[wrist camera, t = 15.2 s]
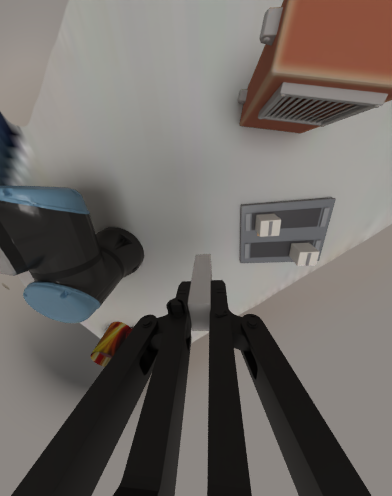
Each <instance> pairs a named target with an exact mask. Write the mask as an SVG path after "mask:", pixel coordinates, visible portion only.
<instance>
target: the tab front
mask: <svg viewBox="0 0 392 496" xmlns="http://www.w3.org/2000/svg"><path fill="white" fill-rule="evenodd" d="M280 225H281V219H280V218H279V217H277V216H276V215H275V214H260V215H256V225H255V229H256V231H257V233H258V234H259V236H260V237H264V236H279V233H280Z"/></svg>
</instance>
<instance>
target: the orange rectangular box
mask: <svg viewBox="0 0 392 496" xmlns="http://www.w3.org/2000/svg"><path fill="white" fill-rule="evenodd" d="M260 42H261V43H263V44H266V45H265V47H264V49H263V52H262V54H261V57H260V59H259V61H258V64H257V66H256V69H255V71H254V74H253V76H252V78H251V81H250V83H249V86H248V88H247V89H241V90H240V93H239V98H238V102H239V103H243V109H242V114H241V119H240V126H246V127H254V128H262V129H270V130H278V131H286V132H295V133H303V132H306V131H309V130H311V129H314V128H317V127H319V126H320V127H324V126H325V125H328V124H331V123H334V122H336V121H339V120H342V119H345V118H348V117H350V116H353V115H356V114H359V113H361V112H364V111H367V110H370V109H373V108H377V107H379V106H381V105H383V104H384V103H385V102H387V101H390V100H392V0H284V1H283V3H282V6H281V7H277V8H269V9H268V10H267V11H266V13H265V15H264V20H263V25H262V30H261V34H260Z"/></svg>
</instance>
